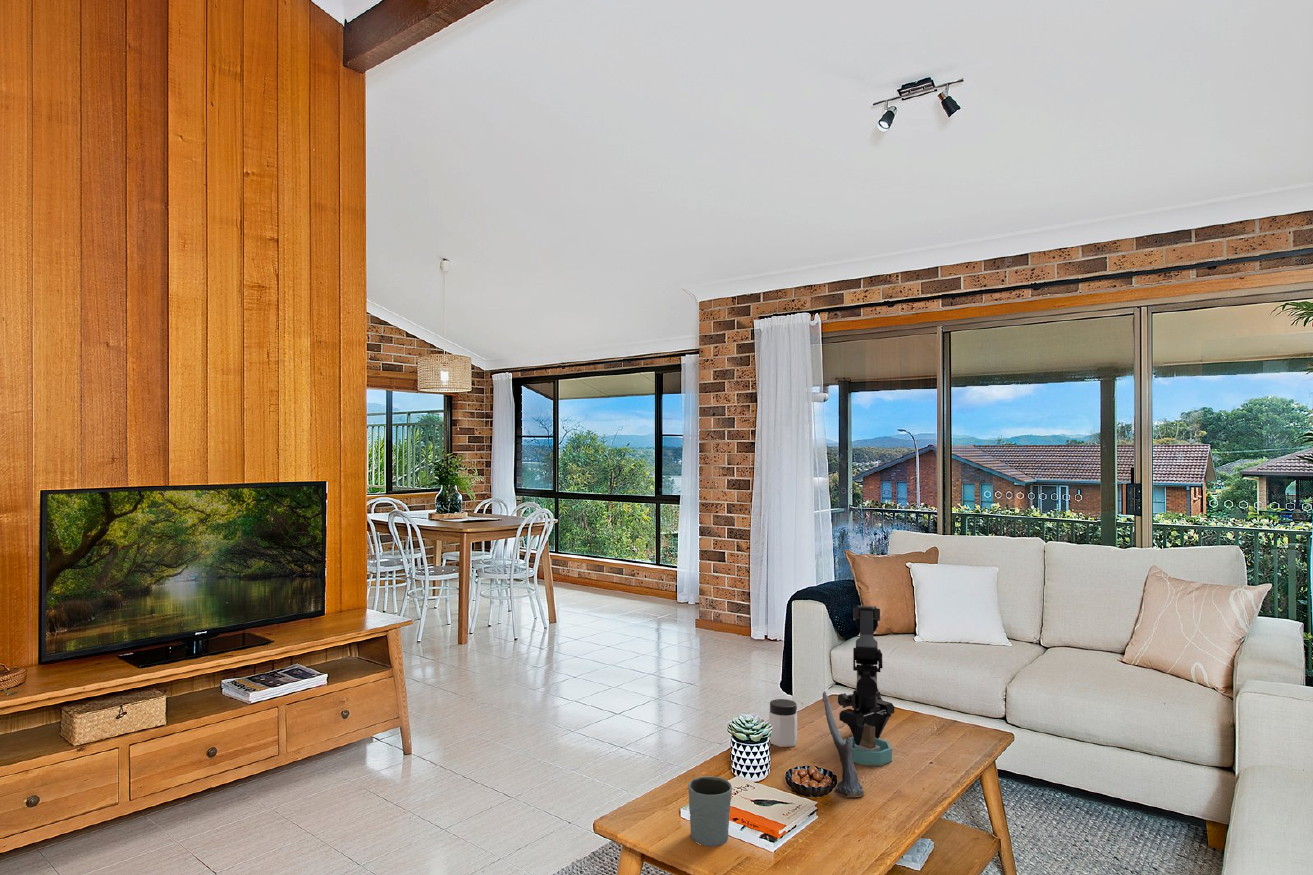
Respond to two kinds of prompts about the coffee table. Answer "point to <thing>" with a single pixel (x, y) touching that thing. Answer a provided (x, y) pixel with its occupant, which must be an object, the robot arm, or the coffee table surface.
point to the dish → (872, 753)
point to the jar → (783, 722)
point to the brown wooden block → (868, 737)
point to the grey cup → (709, 810)
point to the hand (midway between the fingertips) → (867, 741)
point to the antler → (843, 758)
